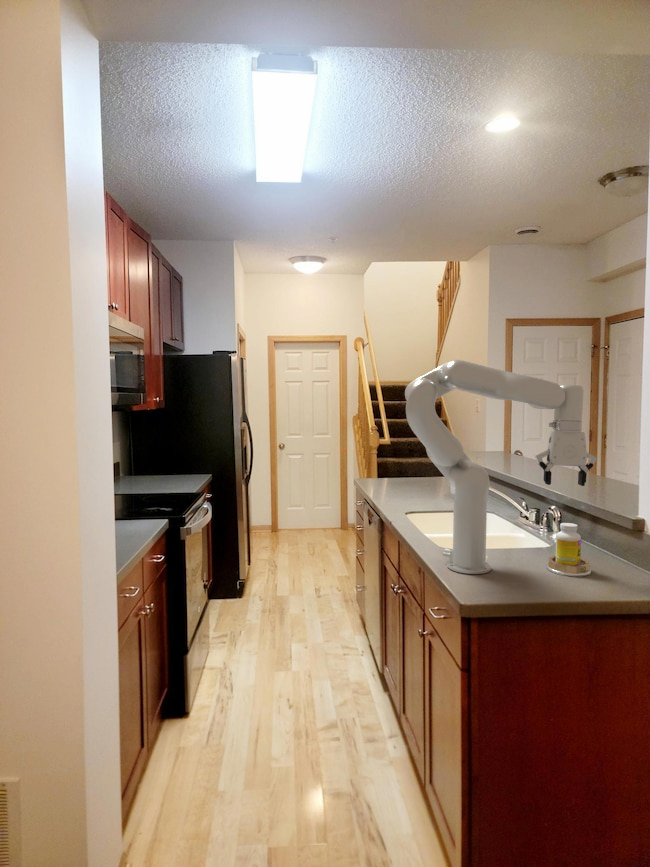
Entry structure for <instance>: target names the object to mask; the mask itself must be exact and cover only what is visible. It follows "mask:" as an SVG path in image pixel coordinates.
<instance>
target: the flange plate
mask: <svg viewBox="0 0 650 867" xmlns="http://www.w3.org/2000/svg"><path fill="white" fill-rule="evenodd" d="M546 567H547V568H546V569H547V571H549V572H550V573H552V574H556V575H559V576H563V577H573V578H577V577H579V578H582V577H588V576H590V575H591V574H592V569H591V563H590V562H589V560H586V559H585V558H581V557H580V565H578V566H573V565H564V564H560V563H557V562H556V555H551V556H550V557H547V564H546Z"/></svg>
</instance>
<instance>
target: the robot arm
mask: <svg viewBox="0 0 650 867" xmlns="http://www.w3.org/2000/svg"><path fill="white" fill-rule="evenodd" d="M454 390H458V391H462V392H466V393H469V394H474V395H478V396H482V397H485V398H491V399H495V400H499V401H500V400H501V401H503V400H504V401H512V402H513V401H514V402H520V403H525V404H528V405H529V406H530V407H532V408H533V409H537V410H538V409H539V410H554V412H553V414H554V415H553V420H552V422H548V427H549V428H552V430H551V431H550V434H549V439H548V443H547V449H546V450H545V451H543V452H540V453H538V454H536V455H535V456H534V458H535V459H536V462H537V465H539V467H540V468H541V469H542V470H543V482H544V484H546V485H547V486H548V485H549V486H550V485H551V484H552V471H551V469H553V467H554V466H561V467H562V466H564V467H578V469H579V471H578V473H577V474H578V476H577V477H578V478H577V485H579V486H582V487H584V486H585V484H586V483H587V474H588V473H589V471H590V470H591V469H592V468H593V467H594V465H595V463H596V462H597V460H598V459H597V457H596V456H595V455H593V454H591V453H589V452H587V440H586V434H585V431H582V426H583V409H584V408H583V406H584V387H583V386H582V385H579V384H558V383H556V382H554V381H553V382H552V381H549V380H546V379H542V378H538V377H532V376H530V375H529V376H528V375H526V374H525V375H524V374H520V373H516V372H511V371H507V370H501V369H498V368H494V367H490V366H485V365H482V364H478V363H473V362H470V361H465V360H461V359H453V360H450V361H447V362H445V363H443V364H441V365H440V366H438V367H436V368H434V369H433V370H431V371H429V372H427V373H425V374H424V375H421V376H420V377H418V378H416V379H414V380H412V381H411V382H409V383H408V384H407V386H406V387H405V390H404V396H405V397H404V398H405V401H406V403H405V415H406V420H407V424H408V425H409V428H410V429H411V431H412V432H413V434H414V435H415V436H416V437H417V439H418V441H420V443H422V445H423V446H424V447H425V451H426V454H427V457H428V458H429V459H430V461H431V462H432V463H433V465H434V466H435V467H436V468H437V469H438V471H439V472H440V473H441V474H442V475H443V477H444V478H445V479H446V480H447V481H448V483H450V484H451V485H452V486H453V487H454V488H455V490H454V499H453V509H452V510H453V515H452V516H453V518H452V519H453V523H452V524H453V525H452V526H453V528H452V530H453V531H452V532H453V533H452V549H449V548H444V550H443V552H442V556H443V557H446V558H447V557H448V558H449V560H448V561H447V563H446V566H447V567H448V569H449V570H451V571H454V572H457V573H460V574H467V575H481V574H486V573H489V572H491V570H492V565H491V563H489V562H487V560H486V556H487V519H488V518H487V517H488V516H487V515H488V514H487V513H488V512H487V510H488V508H487V507H488V499H489V498H488V496H489V492H490V477H489V473H488V472H487V470H486V468H484V466H482V465H481V464H479V463H476V462H475V461H472V460H471V459H470V458H469V456H468V455H467V454H466V453H465V451H464V448H463V445H462V443H461V441H460V440H459V439H458V438H457V437H456V436H455V435H454V434H453V433H452V432H451V430H449V428H448V427H447V426H446V425H445V423H444V422H443V421H442V420H441V418H440V417H439V416H438V413H437V411H436V402H437V399H439V398H441V397H443V396H445V395H446V394H449V393H450V392H452V391H454ZM545 457H546V461H547V462H546V463H545V462H544V460H543V458H545ZM587 459H588V462H587Z"/></svg>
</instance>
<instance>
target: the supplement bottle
mask: <svg viewBox="0 0 650 867" xmlns="http://www.w3.org/2000/svg"><path fill="white" fill-rule="evenodd" d="M559 528H560V531H558V532H557V533H556V537H555V540H556V541H555V556H556V562H557V563H560V564H564V565H573V566H578V565H580V558H581V547H582V545H581V544H582V537H581V535H580V533H578V532H577V531H578V524H575V523H572V522H571V523H570V522H561V523H560V525H559Z"/></svg>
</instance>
